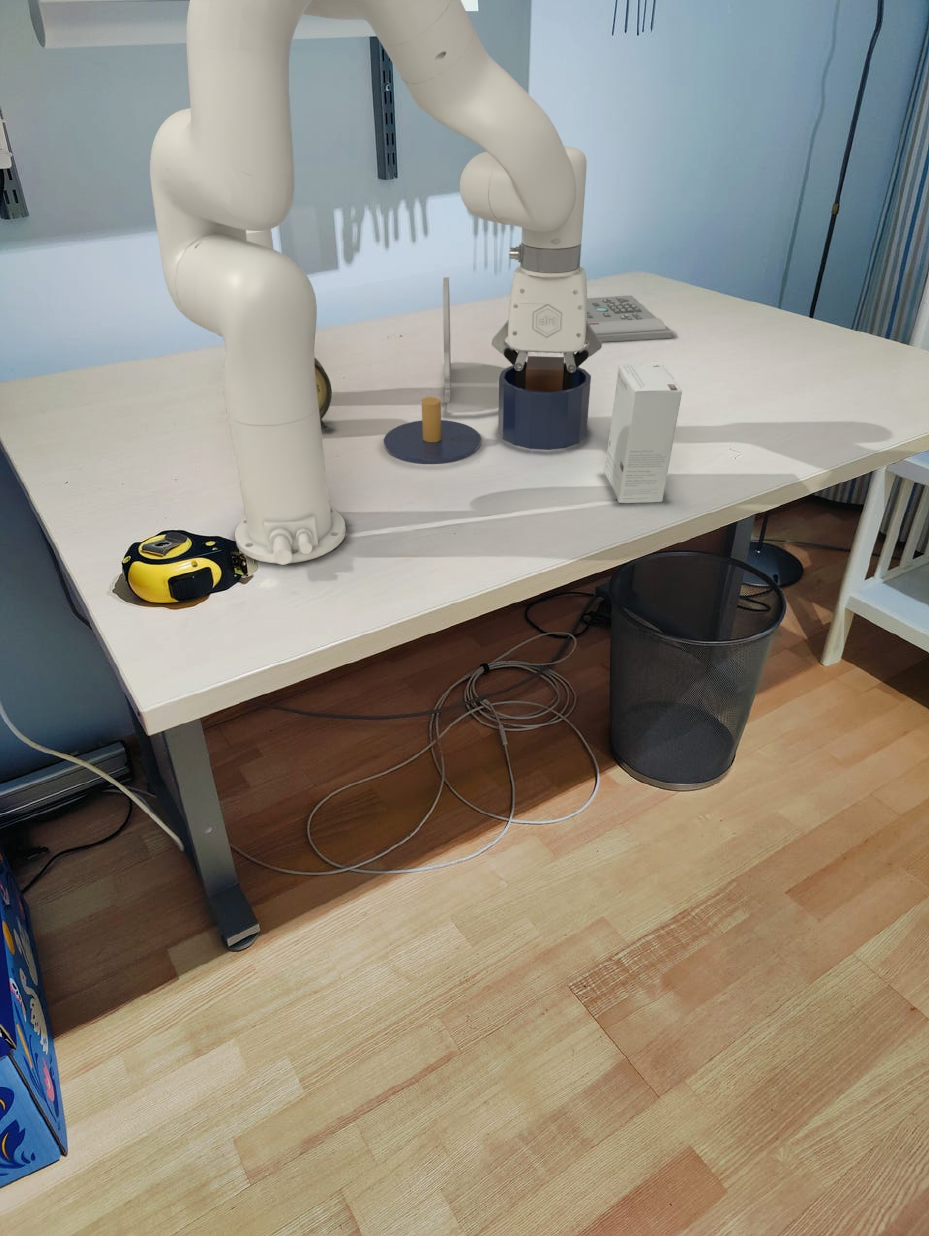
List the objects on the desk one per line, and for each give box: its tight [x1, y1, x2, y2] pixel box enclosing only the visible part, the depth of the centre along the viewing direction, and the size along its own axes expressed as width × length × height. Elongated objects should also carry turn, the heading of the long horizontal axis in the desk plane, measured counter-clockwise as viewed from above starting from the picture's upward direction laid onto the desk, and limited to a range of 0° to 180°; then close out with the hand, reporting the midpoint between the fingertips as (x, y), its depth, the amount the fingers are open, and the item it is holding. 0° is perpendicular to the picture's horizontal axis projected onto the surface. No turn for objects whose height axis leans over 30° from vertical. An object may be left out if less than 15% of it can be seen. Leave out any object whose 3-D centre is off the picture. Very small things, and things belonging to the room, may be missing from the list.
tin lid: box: [383, 396, 482, 465], centre depth 118 cm, size 13×13×7 cm
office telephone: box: [585, 295, 673, 344], centre depth 165 cm, size 23×3×20 cm
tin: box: [497, 361, 592, 451], centre depth 121 cm, size 12×12×8 cm
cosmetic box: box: [603, 364, 683, 504], centre depth 105 cm, size 8×6×15 cm
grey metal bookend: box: [442, 276, 506, 414], centre depth 133 cm, size 22×13×17 cm, turn 0°
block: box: [525, 355, 565, 392], centre depth 118 cm, size 5×5×5 cm
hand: (543, 395), depth 120 cm, fingers closed on block, 5 cm apart
